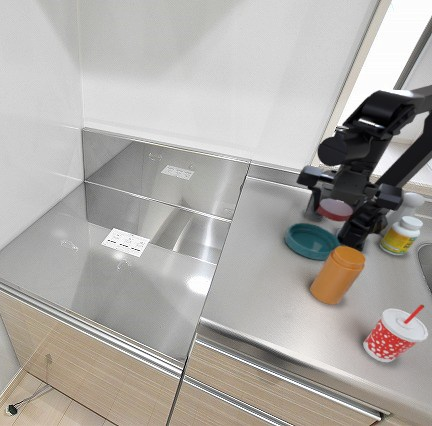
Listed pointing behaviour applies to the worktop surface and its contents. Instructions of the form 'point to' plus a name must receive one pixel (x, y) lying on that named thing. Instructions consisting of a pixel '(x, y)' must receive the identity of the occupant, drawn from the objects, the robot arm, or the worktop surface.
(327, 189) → the beverage cup
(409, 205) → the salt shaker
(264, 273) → the worktop surface
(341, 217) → the lid
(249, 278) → the worktop surface
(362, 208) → the robot arm
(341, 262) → the jar
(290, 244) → the dish
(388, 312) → the beverage cup
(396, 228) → the supplement bottle
